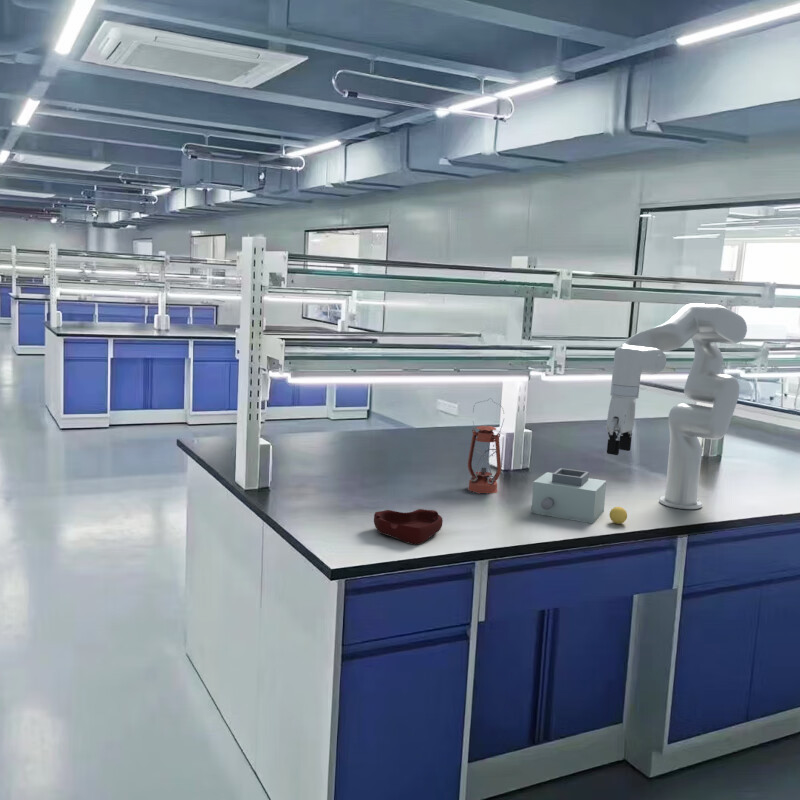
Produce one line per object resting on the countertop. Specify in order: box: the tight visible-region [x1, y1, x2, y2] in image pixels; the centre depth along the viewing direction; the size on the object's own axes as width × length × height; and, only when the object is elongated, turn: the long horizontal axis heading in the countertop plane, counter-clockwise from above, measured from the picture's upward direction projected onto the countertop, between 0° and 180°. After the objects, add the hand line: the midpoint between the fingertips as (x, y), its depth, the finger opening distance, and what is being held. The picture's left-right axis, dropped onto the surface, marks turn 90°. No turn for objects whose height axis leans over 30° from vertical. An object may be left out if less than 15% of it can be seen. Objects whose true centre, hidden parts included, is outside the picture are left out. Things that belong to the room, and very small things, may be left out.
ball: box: [609, 506, 628, 525], centre depth 220 cm, size 5×5×5 cm
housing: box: [530, 467, 607, 524], centre depth 227 cm, size 17×18×12 cm
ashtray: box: [373, 508, 444, 545], centre depth 202 cm, size 18×16×5 cm
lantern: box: [467, 397, 505, 495], centre depth 248 cm, size 10×10×30 cm
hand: (618, 452), depth 218 cm, fingers open, 9 cm apart
